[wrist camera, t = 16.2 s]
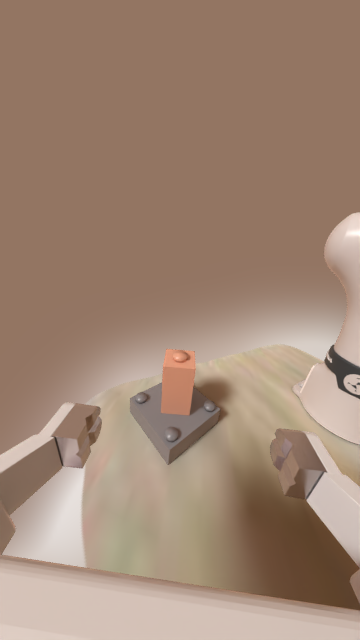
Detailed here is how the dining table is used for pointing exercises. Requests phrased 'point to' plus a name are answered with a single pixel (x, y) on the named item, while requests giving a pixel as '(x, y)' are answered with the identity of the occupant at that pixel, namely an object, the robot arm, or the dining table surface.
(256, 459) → the dining table surface
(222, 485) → the dining table surface
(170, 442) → the charcoal base brick
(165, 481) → the dining table surface
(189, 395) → the terracotta brick
